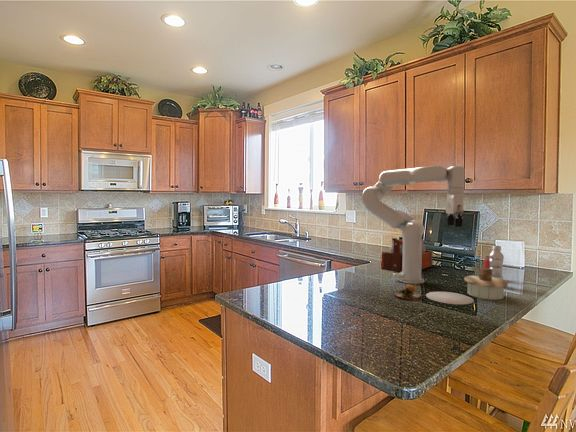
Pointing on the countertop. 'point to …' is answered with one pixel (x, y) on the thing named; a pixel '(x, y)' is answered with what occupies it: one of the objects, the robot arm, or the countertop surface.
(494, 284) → the lid
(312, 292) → the countertop surface
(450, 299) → the pad
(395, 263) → the milk bottle holder
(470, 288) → the bowl
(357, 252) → the countertop surface
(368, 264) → the countertop surface
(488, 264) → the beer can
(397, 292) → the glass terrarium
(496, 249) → the plastic bottle
